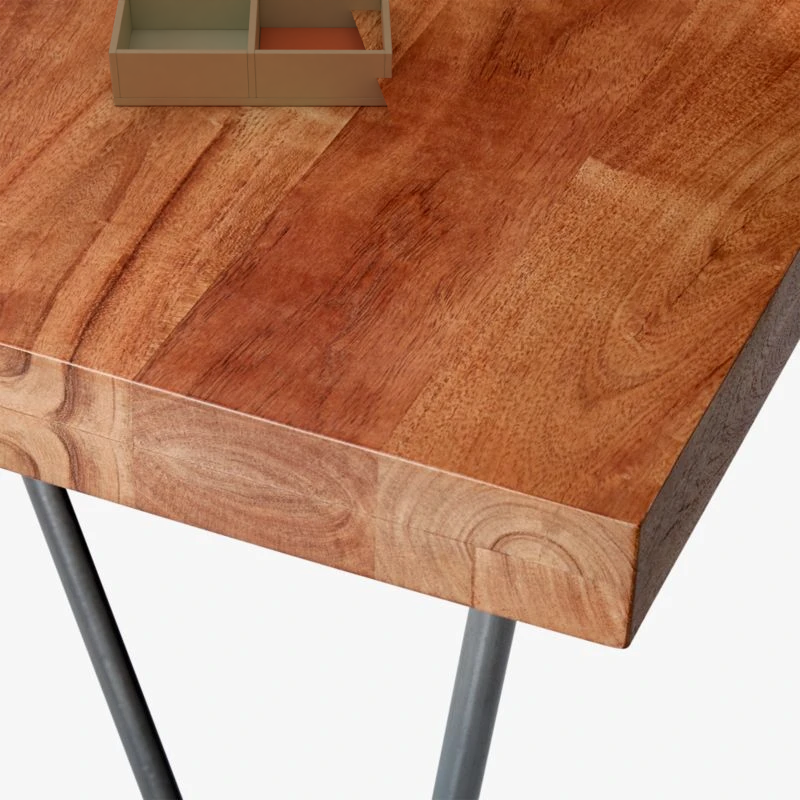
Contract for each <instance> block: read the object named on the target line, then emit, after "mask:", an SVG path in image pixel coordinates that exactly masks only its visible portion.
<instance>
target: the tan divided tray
mask: <svg viewBox="0 0 800 800" xmlns="http://www.w3.org/2000/svg"><path fill="white" fill-rule="evenodd" d="M390 9H391V8H390V0H117V6H116V10H115V14H114V15H115V16H114V21H113V27H112V32H111V38H110V42H109V49H108V61H109V71H110V79H111V80H110V81H111V90H112V97H113V105H114V106H118V107H119V106H123V107H125V106H127V107H128V106H131V107H132V106H135V107H138V106H139V107H141V106H142V107H143V106H153V107H154V106H158V107H160V106H161V107H162V106H171V107H172V106H174V107H175V106H177V107H179V106H182V107H183V106H184V107H186V106H187V107H188V106H192V107H193V106H195V107H196V106H197V107H198V106H202V107H203V106H205V107H207V106H209V107H210V106H211V107H212V106H213V107H214V106H217V107H219V106H221V107H225V106H229V107H230V106H231V107H232V106H237V107H238V106H240V107H241V106H242V107H243V106H244V107H246V106H247V107H250V106H252V107H257V106H259V107H266V106H267V107H268V106H269V107H271V106H275V107H276V106H279V107H283V106H285V107H288V106H289V107H290V106H291V107H293V106H294V107H299V106H300V107H301V106H303V107H304V106H305V107H309V106H310V107H315V106H316V107H317V106H318V107H323V106H326V107H331V106H333V107H336V106H337V107H345V106H346V107H359V106H360V107H388V104H387V102H386V99H385V96H384V94H383V91H382V88H381V86H380V83H379V80H378V79H392V78H393V41H392V24H391V10H390ZM352 11H380V18H381V19H380V20H381V38H382V49H366V47H365V43H364V41H363V38H362V35H361V33H360V31H359V28H358V25H357V22H356V20H355V18H354V15H353V12H352Z"/></svg>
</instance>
